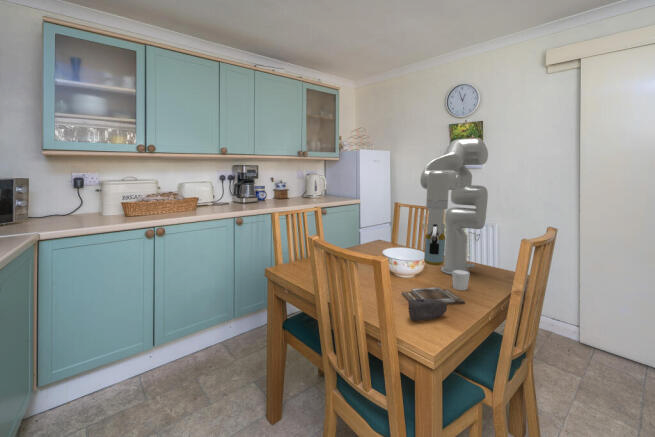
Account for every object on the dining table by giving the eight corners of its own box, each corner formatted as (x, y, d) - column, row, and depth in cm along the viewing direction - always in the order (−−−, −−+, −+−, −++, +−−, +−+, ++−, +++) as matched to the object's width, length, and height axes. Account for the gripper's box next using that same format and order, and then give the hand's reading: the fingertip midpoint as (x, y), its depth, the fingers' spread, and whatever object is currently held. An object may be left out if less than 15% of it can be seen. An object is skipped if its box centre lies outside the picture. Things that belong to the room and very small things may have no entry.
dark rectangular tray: (448, 291, 129) (448, 286, 129) (464, 303, 117) (465, 298, 117) (401, 294, 126) (402, 289, 126) (414, 307, 115) (414, 302, 114)
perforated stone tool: (442, 312, 110) (443, 294, 109) (450, 319, 105) (452, 300, 104) (402, 317, 107) (403, 297, 106) (409, 324, 102) (410, 304, 101)
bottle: (430, 266, 115) (432, 226, 113) (420, 261, 122) (422, 223, 120) (447, 265, 117) (449, 225, 114) (437, 260, 124) (439, 222, 121)
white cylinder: (472, 289, 131) (473, 273, 130) (458, 291, 129) (459, 275, 128) (461, 284, 137) (462, 268, 136) (447, 285, 135) (448, 270, 134)
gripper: (428, 202, 125) (426, 245, 128) (424, 206, 109) (422, 256, 112) (448, 202, 123) (445, 247, 125) (447, 207, 107) (444, 258, 109)
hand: (434, 251), depth 119 cm, fingers closed on bottle, 6 cm apart
